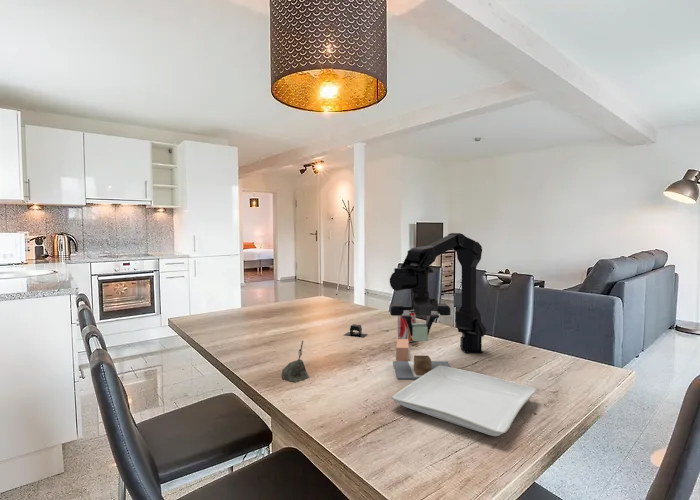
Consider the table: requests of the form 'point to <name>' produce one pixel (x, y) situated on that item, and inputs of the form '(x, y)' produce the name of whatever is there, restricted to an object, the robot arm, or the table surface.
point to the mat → (412, 369)
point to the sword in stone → (295, 370)
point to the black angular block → (355, 334)
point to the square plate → (466, 399)
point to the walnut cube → (422, 364)
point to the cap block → (402, 350)
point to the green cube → (419, 332)
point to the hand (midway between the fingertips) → (419, 335)
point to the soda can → (405, 327)
